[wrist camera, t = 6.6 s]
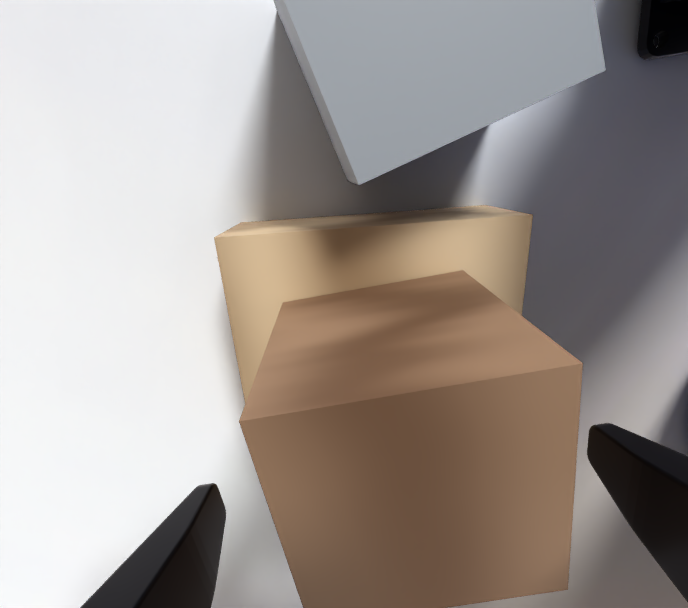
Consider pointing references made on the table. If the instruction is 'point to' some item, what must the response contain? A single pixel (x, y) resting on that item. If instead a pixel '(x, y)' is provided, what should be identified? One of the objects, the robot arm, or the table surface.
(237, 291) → the oak slab
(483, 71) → the slate cube
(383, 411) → the walnut cube
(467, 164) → the table surface
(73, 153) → the table surface
